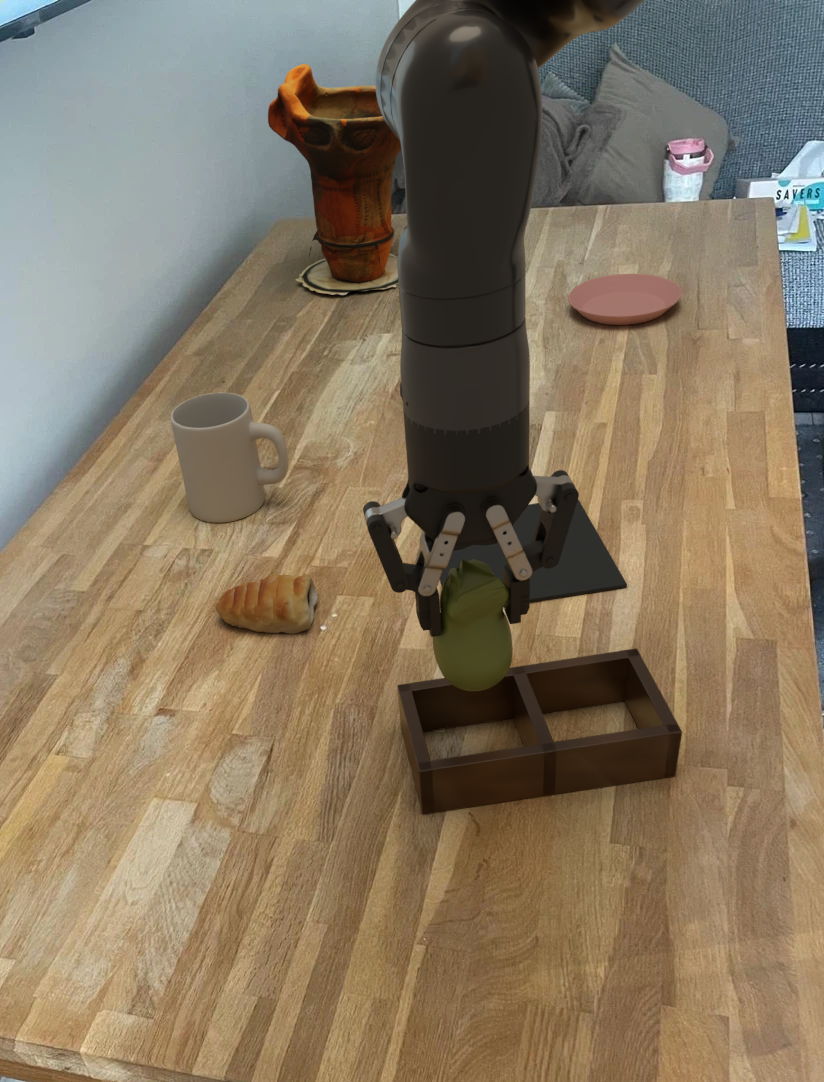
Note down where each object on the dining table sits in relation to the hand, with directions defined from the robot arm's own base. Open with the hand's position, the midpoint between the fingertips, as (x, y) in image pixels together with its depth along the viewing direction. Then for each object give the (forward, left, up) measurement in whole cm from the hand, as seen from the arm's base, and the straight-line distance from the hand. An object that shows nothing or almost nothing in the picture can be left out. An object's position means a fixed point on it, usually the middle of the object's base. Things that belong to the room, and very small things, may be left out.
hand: (473, 622), depth 76 cm
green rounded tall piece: (0, 0, -6) cm, 6 cm away
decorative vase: (-6, -108, -13) cm, 109 cm away
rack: (-4, 0, -13) cm, 14 cm away
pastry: (+14, -23, -13) cm, 30 cm away
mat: (-10, -27, -13) cm, 32 cm away
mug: (+16, -45, -13) cm, 50 cm away
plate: (-37, -80, -13) cm, 89 cm away
